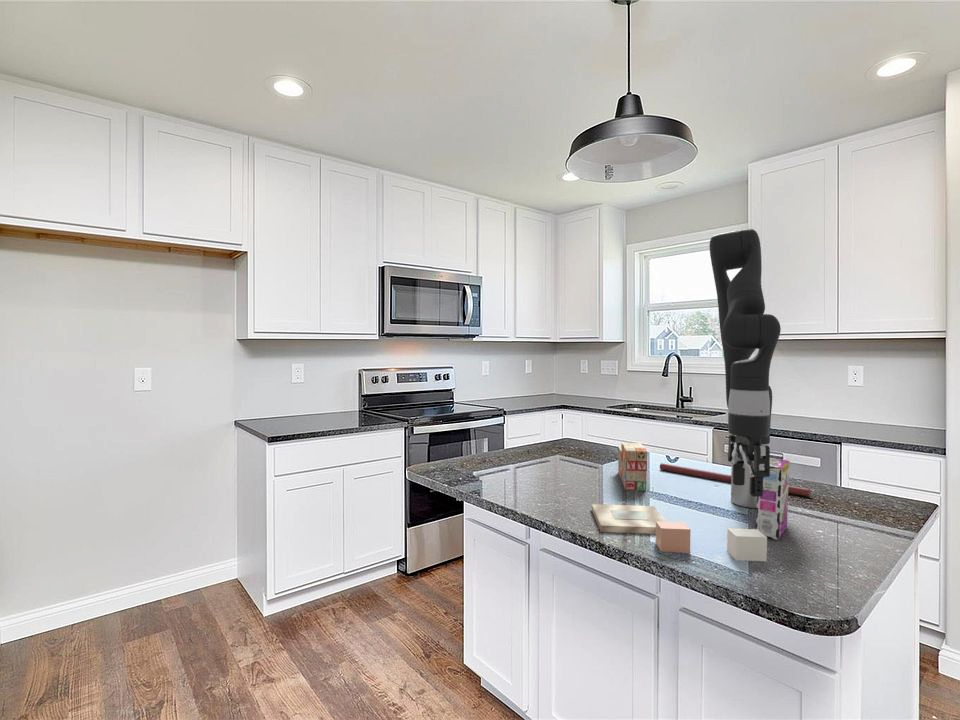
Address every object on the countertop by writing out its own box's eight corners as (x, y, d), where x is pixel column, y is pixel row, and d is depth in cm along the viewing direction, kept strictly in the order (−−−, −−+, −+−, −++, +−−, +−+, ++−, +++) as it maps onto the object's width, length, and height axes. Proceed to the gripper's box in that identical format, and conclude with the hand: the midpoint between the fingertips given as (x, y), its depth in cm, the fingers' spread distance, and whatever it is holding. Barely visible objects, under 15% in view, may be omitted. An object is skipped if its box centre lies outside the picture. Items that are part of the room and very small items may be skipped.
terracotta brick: (683, 544, 112) (684, 522, 112) (690, 552, 108) (690, 529, 108) (655, 543, 113) (655, 521, 113) (660, 551, 109) (661, 528, 108)
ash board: (654, 511, 134) (654, 505, 134) (671, 534, 118) (671, 527, 118) (591, 509, 136) (592, 503, 136) (600, 531, 120) (600, 524, 120)
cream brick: (756, 552, 108) (757, 529, 108) (766, 561, 104) (767, 537, 104) (727, 551, 109) (727, 528, 109) (735, 560, 104) (736, 536, 104)
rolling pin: (811, 497, 149) (811, 486, 149) (808, 499, 147) (808, 488, 147) (662, 470, 181) (663, 461, 181) (658, 471, 179) (658, 462, 179)
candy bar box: (780, 541, 114) (781, 468, 114) (755, 536, 117) (756, 464, 117) (788, 527, 123) (790, 459, 122) (765, 523, 126) (766, 456, 126)
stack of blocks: (617, 473, 176) (618, 437, 175) (636, 473, 175) (637, 437, 174) (625, 490, 155) (625, 449, 154) (646, 491, 154) (647, 450, 153)
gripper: (785, 416, 98) (783, 501, 98) (752, 408, 112) (750, 482, 113) (744, 415, 99) (742, 499, 99) (716, 407, 113) (715, 480, 113)
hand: (746, 490), depth 106 cm, fingers open, 8 cm apart
